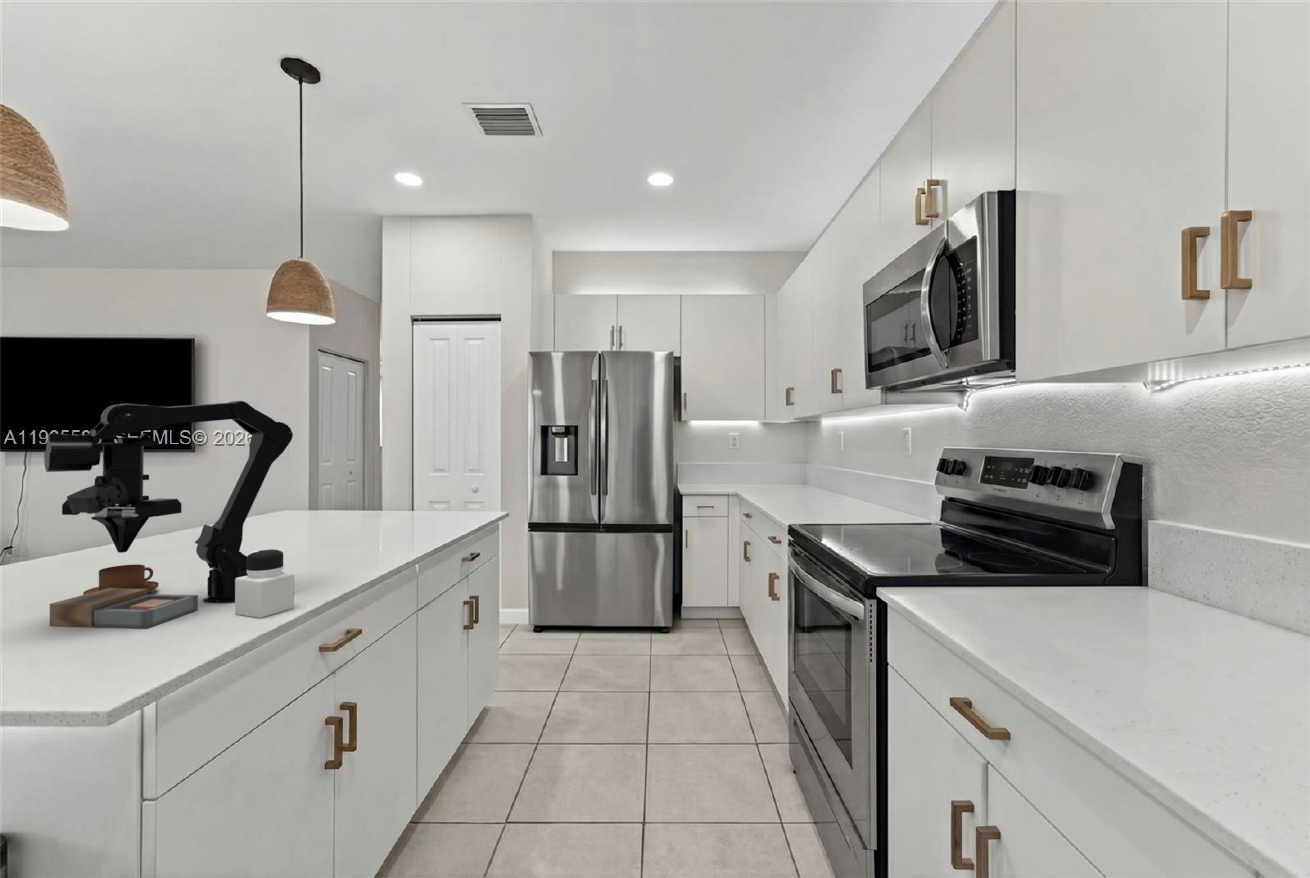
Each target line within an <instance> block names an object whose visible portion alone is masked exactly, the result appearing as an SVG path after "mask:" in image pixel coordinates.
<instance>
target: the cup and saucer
mask: <svg viewBox="0 0 1310 878" xmlns="http://www.w3.org/2000/svg"><path fill="white" fill-rule="evenodd" d="M145 571H148V572H149V575H148V576H147V577H145V575H146V574H145ZM153 575H154V570H153V568H151V567H149V566H145V565H144V564H122V565H121V564H120V565H115V566H109V567H105V568H100V569H99V570H98V586H96V587H92V588H89V589H87V590H85V591H83V592H82V595H85V594H89V593H93V592H96V591H100V590H104V589H108V588H129V589H148V594H150V593H151V592H153V591H155V590H156V589H157V588H158V587H159V585H160V584H159V582H157V581H151V579H152V578H153Z"/></svg>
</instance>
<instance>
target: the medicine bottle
mask: <svg viewBox="0 0 1310 878" xmlns="http://www.w3.org/2000/svg"><path fill="white" fill-rule="evenodd" d="M246 556H247V574H248V575H247V576H243V577H238V578H236V579H235V601H234V613H235V615H238V616H244V617H250V618H251V617H252V618H257V619H262V618H267V617H270V616H272V615H275V614H276V615H277V614H279V613H282V612H283V613H284V612H285V611H290V610H292V609H294V607H295V573H293V572H286V571H285V572H284V571H283V570H284V552H283V551H282V550H278V549H273V548H272V549H270V548H269V549H259V550H255V551H252V552H250V553H248V555H246Z"/></svg>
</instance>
